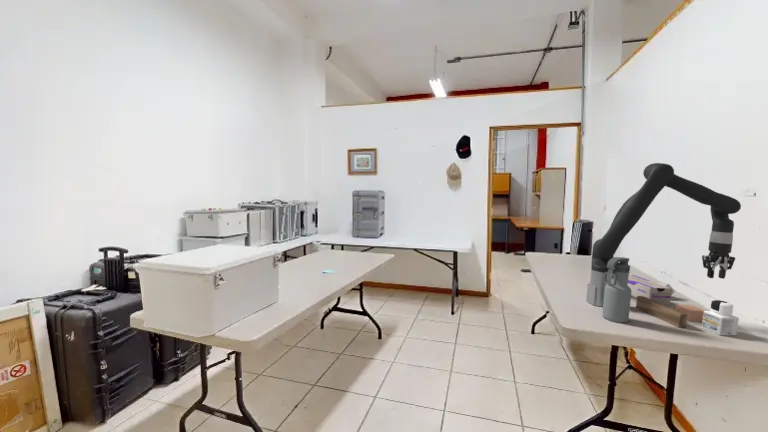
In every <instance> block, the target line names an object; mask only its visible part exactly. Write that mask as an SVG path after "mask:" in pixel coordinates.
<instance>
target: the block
mask: <svg viewBox="0 0 768 432" xmlns="http://www.w3.org/2000/svg"><path fill="white" fill-rule="evenodd" d="M674 309H675V310H678V311H680V312H683V313H685V314H687V319H686V321H688V322H702V320H703V312H704V311H707V310H706V309H703V308H700V307H698V306H695V305H692V304H674Z"/></svg>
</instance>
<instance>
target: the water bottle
mask: <svg viewBox="0 0 768 432" xmlns="http://www.w3.org/2000/svg"><path fill="white" fill-rule="evenodd" d="M629 262H630V258H629V257H622V256H621V257H619V256H618V257H617V256H616V257H615V256H614V257H613V258H612V259H610V260H609V261H608V263H607V268H609V269H608V272H605V275H604V282H605V283H608V284H607V285H606V286H605V294H604V303H603V307H602V314H601V315H602V317H603V318H604V319H606V320H607V321H610V322H614V323H618V322H619V323H618V324H625V323H627V322H629V319H630V308H631V302H632V300H631V289H630V287H628V277H629V275H630V271H631V269H630V268H631V266H630V265H629ZM608 273H609V274H611V277H610V283H609V282H607V280H606V277H607V274H608Z"/></svg>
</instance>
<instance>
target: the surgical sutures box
mask: <svg viewBox="0 0 768 432" xmlns="http://www.w3.org/2000/svg"><path fill="white" fill-rule="evenodd" d="M658 283H659V282H655V281H652V280H650V279H646V278H643V277H640V276H639V275H634V274H629V277H628V287H630V289H631V302H634V303H636V302H637V296H644V297H647V298H649V299H651V300H654V301H656V302H659V303H661V304H663V305H666V306H668V307H670V306H671V298H672V296H671V291H672V288H673V287H672V288H669V287H666V286H663V285H661V284H658Z"/></svg>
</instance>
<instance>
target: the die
mask: <svg viewBox="0 0 768 432" xmlns="http://www.w3.org/2000/svg"><path fill="white" fill-rule="evenodd" d="M657 283H658V284H661V285H663V286H666V287H669V288H672V291H671V297H672V296H673V295H674V293H675V290H674V288H673V287H672V286H671V284H670V283H666V282H665V283H664V282H657Z"/></svg>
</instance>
